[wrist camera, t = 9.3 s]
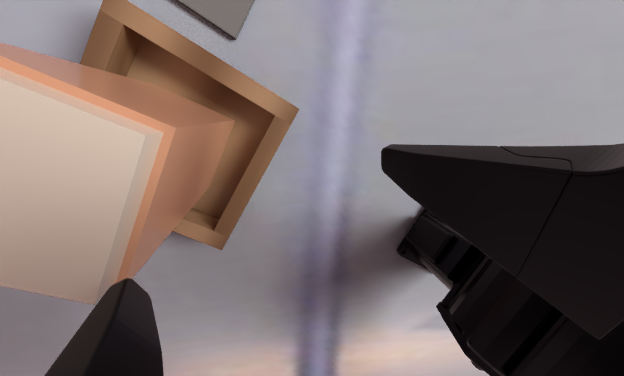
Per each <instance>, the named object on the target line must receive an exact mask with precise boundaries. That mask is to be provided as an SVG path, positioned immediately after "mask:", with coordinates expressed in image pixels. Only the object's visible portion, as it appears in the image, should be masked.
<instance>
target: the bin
mask: <svg viewBox="0 0 624 376" xmlns="http://www.w3.org/2000/svg"><path fill="white" fill-rule="evenodd" d="M80 64H81V65H85V66H89V67H92V68H96V69H100V70H103V71H107V72H111V73H114V74H118V75H122V76H125V77H129V78H133V79H136V80H140V81H144V82H147V83H151V84H155V85H158V86H160V87H162V88H164V89H167V90H169V91H171V92H173V93H176V94H178V95H180V96H182V97H184V98H187V99H189V100H191V101H193V102H196V103H198V104H200V105H202V106H205V107H207V108H209V109H211V110H214V111H216V112H218V113H220V114H222V115H225V116H227V117H229V118H231V119H234V120H235V122H234V125H233V128H232V130H231V133H230V136H229V138H228V141H227V144H226V146H225V149H224V151H223V154H222V157H221V159H220V162H219V165H218V167H217V170H216V173H215V175H214V178H213V181H212V183H211V186H210V187H209V188H208V189H207V190H206V192H205V193H204V194H203V195H202V196H201V198H200V199H199V200H198V201H197V202H196V203H195V205H194V206H193V207H192V208H191V209H190V211H189V212H188V213H187V214H186V215H185V217H184V218H183V219H182V220H181V221H180V222H179V224H178V225H177V226H176V227H175V228H174V230H173V231H174V232H177V233H179V234H182V235H184V236H187V237H189V238H192V239H194V240H197V241H200V242H202V243H205V244H207V245H210V246H212V247H215V248H217V249H220V250H222V249H223V247H224V245H225V243H226V242H227V240H228V238H229V236H230V234H231V232H232V231H233V229H234V227H235V225H236V223H237V222H238V220H239V218H240V216H241V214H242V212H243V211H244V209H245V207H246V205H247V203H248V202H249V200H250V198H251V196H252V194H253V192H254V191H255V189H256V187H257V185H258V183H259V182H260V180H261V178H262V176H263V174H264V172H265V171H266V169H267V167H268V165H269V163H270V162H271V160H272V158H273V156H274V154H275V152H276V151H277V149H278V147H279V145H280V143H281V142H282V140H283V138H284V136H285V134H286V132H287V131H288V129H289V127H290V125H291V123H292V122H293V120H294V118H295V116H296V114H297V113H298V111H299V109H298V108H297V107H295V106H294V105H292V104H290V103H289V102H287V101H286V100H284V99H282V98H281V97H279V96H278V95H276V94H275V93H273V92H271V91H270V90H268V89H267V88H265V87H263V86H262V85H260V84H259V83H257V82H255V81H254V80H252V79H251V78H249V77H248V76H246V75H244V74H243V73H241V72H240V71H238V70H236V69H235V68H233V67H232V66H230V65H229V64H227V63H225V62H224V61H222V60H221V59H219V58H217V57H216V56H214V55H213V54H211V53H209V52H208V51H206V50H205V49H203V48H202V47H200V46H198V45H197V44H195V43H194V42H192V41H190V40H189V39H187V38H186V37H184V36H183V35H181V34H179V33H178V32H176V31H175V30H173V29H171V28H170V27H168V26H167V25H165V24H163V23H162V22H160V21H159V20H157V19H156V18H154V17H152V16H151V15H149V14H148V13H146V12H144V11H143V10H141V9H140V8H138V7H137V6H135V5H133V4H132V3H130V2H129V1H127V0H103V2H102V5H101V8H100V10H99V13H98V16H97V18H96V21H95V24H94V27H93V29H92V32H91V35H90V38H89V40H88V43H87V46H86V48H85V51H84V54H83V57H82V59H81V62H80Z"/></svg>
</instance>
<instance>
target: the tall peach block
mask: <svg viewBox="0 0 624 376" xmlns="http://www.w3.org/2000/svg"><path fill="white" fill-rule="evenodd" d="M234 122H235V120H234V119H231V118H229V117H227V116H225V115H222V114H220V113H218V112H216V111H214V110H211V109H209V108H207V107H205V106H202V105H200V104H198V103H196V102H193V101H191V100H189V99H187V98H184V97H182V96H180V95H178V94H176V93H173V92H171V91H169V90H167V89H164V88H162V87H160V86H158V85H155V84H151V83H147V82H144V81H140V80H136V79H133V78H129V77H125V76H122V75H118V74H114V73H111V72H107V71H103V70H100V69H96V68H92V67H89V66H85V65H81V64H78V63H74V62H70V61H67V60H63V59H59V58H55V57H52V56H48V55H44V54H41V53H37V52H33V51H30V50H26V49H22V48H19V47H15V46H11V45H8V44H4V43H0V286H4V287H9V288H14V289H19V290H23V291H28V292H33V293H38V294H43V295H48V296H53V297H58V298H63V299H68V300H73V301H78V302H83V303H88V304H93V305H95V303H96V302H97V301H98V300H99V299H100V298H101V297H102V296H103V295H104V294H105V293H106V291H107V290H108V289H109V287H110V286H112V285H113V284H115V283H117V282H119V281H121V280H123V279H125V278H130V279H132V278H133V277H134V276H135V275H136V273H137V272H138V271H139V270H140V269H141V267H142V266H143V265H144V264H145V263H146V262H147V260H148V259H149V258H150V257H151V256H152V254H153V253H154V252H155V251H156V250H157V249H158V247H159V246H160V245H161V244H162V243H163V241H164V240H165V239H166V238H167V237H168V235H169V234H170V233H171V232H172V231H173V230H174V228H175V227H176V226H177V225H178V224H179V222H180V221H181V220H182V219H183V218H184V217H185V215H186V214H187V213H188V212H189V211H190V209H191V208H192V207H193V206H194V205H195V203H196V202H197V201H198V200H199V199H200V198H201V196H202V195H203V194H204V193H205V192H206V190H207V189H208V188H209V187H210V186H211V183H212V181H213V178H214V175H215V173H216V170H217V167H218V165H219V162H220V159H221V157H222V154H223V151H224V149H225V146H226V144H227V141H228V138H229V136H230V133H231V130H232V128H233V125H234Z"/></svg>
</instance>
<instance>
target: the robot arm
mask: <svg viewBox="0 0 624 376" xmlns="http://www.w3.org/2000/svg"><path fill="white" fill-rule="evenodd" d="M381 166H382V170H383V172H384V173H385V174H386V175H387V176H388V177H389V178H391V179H392V180H393V181H394V182H395V183H396V184H397V185H398V186H399V187H400V188H401V189H402V190H403V191H404V192H406V193H407V194H408V195H409V196H410V197H411V198H413V199H414V200H415V201H416V202H418V203H419V204H420V205H422V206H423V207H424V208H426V209H425V210H424V212H423V213H422V215H421V216H420V217H419V219H418V220H417V222H416V223H415V225H414V226H413V227H412V229H411V230H410V232H409V233H408V235H407V236H406V237H405V239H404V240H403V242H402V243H401V244H400V246H399V247H398V249H397V252H398V254H399V255H400V256H402V257H404V258H406V259H408V260H410V261H412V262H414V263H416V264H418V265H420V266H422V267H424V268H426V269H428V270H430V271H431V272H432V273H433V274H434V275H435V276H436V277H437V278H438V279H439V280H440V281H441V282H442V283H443V284H444V285H445V286H446V287H447V288H448V289H449V290H450V291H449V292H448V294H447V295H446V296H445V298H444V299H443V300H442V302H439V303H438V305H437V306H436V307H437V309H438V311H439V312H440V314H441V316H442V318H443V320H444V321H445V323H446V324H447V326H448V328H449V329H450V331H451V333H452V334H453V336H454V337H455V339H456V341H457V342H458V344H459V345H460V347H461V349H462V350H463V352H464V353H465V355H466V356H467V357H468V358H470V360H471V362H472V364H473V365H474V366H475V367H476V368H477V369H479V370H482V371H485V372H486V373H488V374H489V375H490V376H624V144H616V145H589V146H500V147H498V146H459V145H399V144H391V145H389V146H387V147H385V148H383V149H382V151H381ZM402 250H404V251H403V252H402ZM45 376H164V375H163V361H162V351H161V345H160V340H159V335H158V330H157V326H156V321H155V316H154V311H153V307H152V302H151V298H150V296H149V295H148V293H147V292H146V291H145V290H143V289H142V288H141V287H140V286H139V285H138V284H137V283H136V282H135V281H134V280H132V279H130V278H125V279H123V280H121V281H119V282H117V283H115V284H113V285H112V286H110V287H109V289H108V290H107V291H106V293H105V294H104V295H103V297H102V298H101V299H100V301H99V302H98V304H97V305H96V306H95V308H94V309H93V310H92V312H91V313H90V314H89V316H88V317H87V319H86V320H85V321H84V323H83V324H82V325H81V327H80V328H79V329H78V331H77V332H76V334H75V335H74V336H73V338H72V339H71V340H70V342H69V343H68V344H67V346H66V347H65V349H64V350H63V351H62V353H61V354H60V355H59V357H58V358H57V359H56V361H55V362H54V364H53V365H52V366H51V368H50V369H49V370H48V372H47V373H46V374H45Z"/></svg>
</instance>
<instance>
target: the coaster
mask: <svg viewBox="0 0 624 376" xmlns="http://www.w3.org/2000/svg"><path fill="white" fill-rule="evenodd" d="M178 1H179V2H181V3H182V4H184V5H185V6H187V7H188V8H190V9H191V10H193V11H194V12H196V13H197V14H199V15H200V16H202V17H203V18H205V19H206V20H208V21H209V22H211V23H212V24H214V25H215V26H217V27H218V28H220V29H221V30H223V31H224V32H225V33H227V34H228V35H230V36H231V37H233V38H234V39H237V37H238V34H239V32H240V30H241V28H242V26H243V24H244V22H245V20H246V18H247V16H248V13H249V11H250V9H251V7H252V5H253V3H254V1H255V0H178Z"/></svg>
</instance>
